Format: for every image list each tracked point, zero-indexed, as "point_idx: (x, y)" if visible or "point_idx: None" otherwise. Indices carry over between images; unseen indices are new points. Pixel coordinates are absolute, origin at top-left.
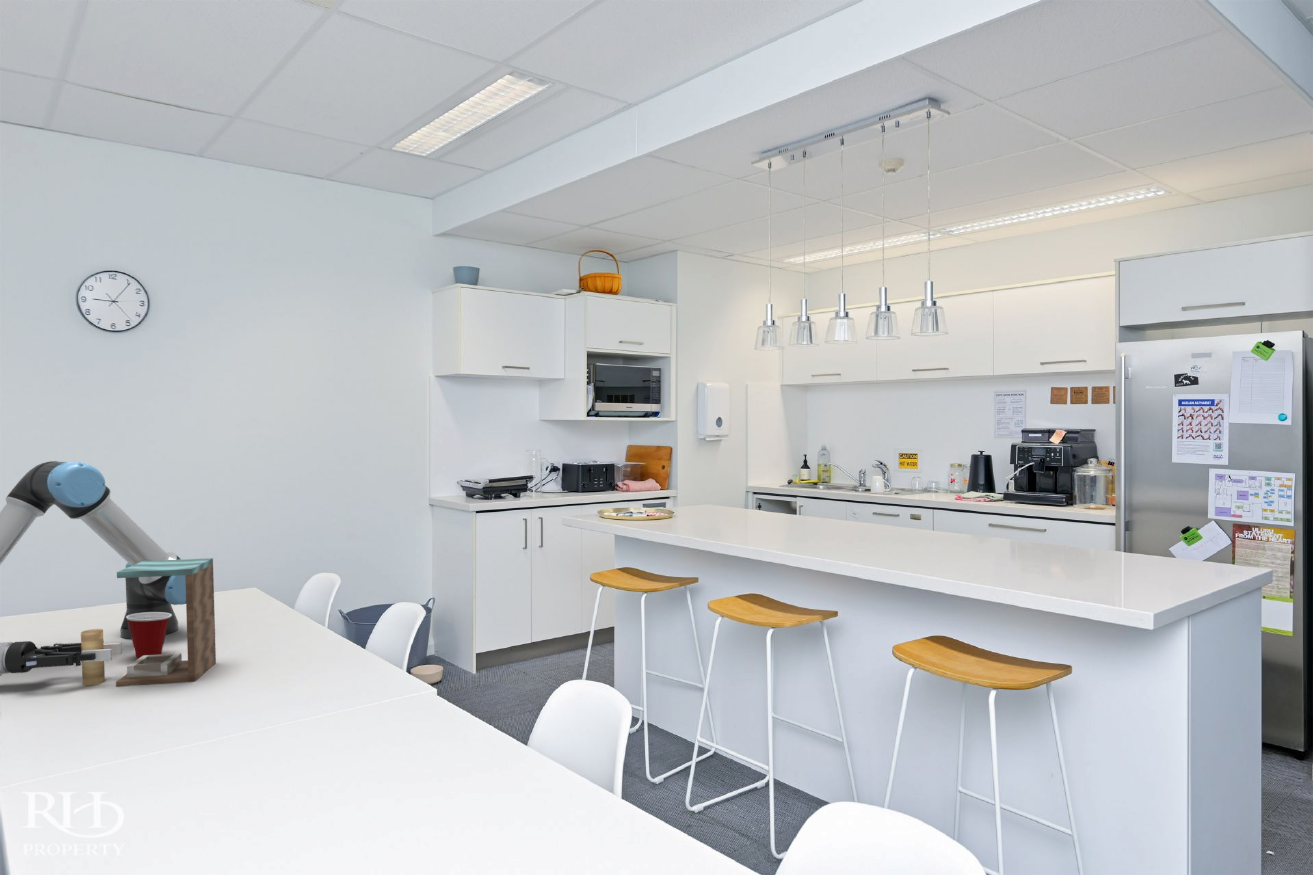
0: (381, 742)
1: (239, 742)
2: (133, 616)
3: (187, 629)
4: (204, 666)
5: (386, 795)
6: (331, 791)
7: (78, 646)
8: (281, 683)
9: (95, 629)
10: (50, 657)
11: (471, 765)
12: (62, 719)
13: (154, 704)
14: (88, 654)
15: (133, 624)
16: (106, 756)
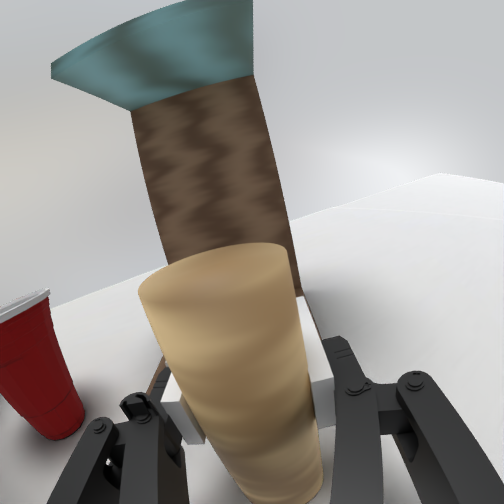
0: (413, 194)
1: (450, 209)
2: None
3: (281, 188)
4: None
5: (454, 185)
6: (463, 188)
7: (153, 476)
8: (314, 241)
9: (159, 278)
10: (490, 469)
11: (418, 185)
12: None
13: (419, 272)
14: (345, 351)
15: (13, 334)
16: None
